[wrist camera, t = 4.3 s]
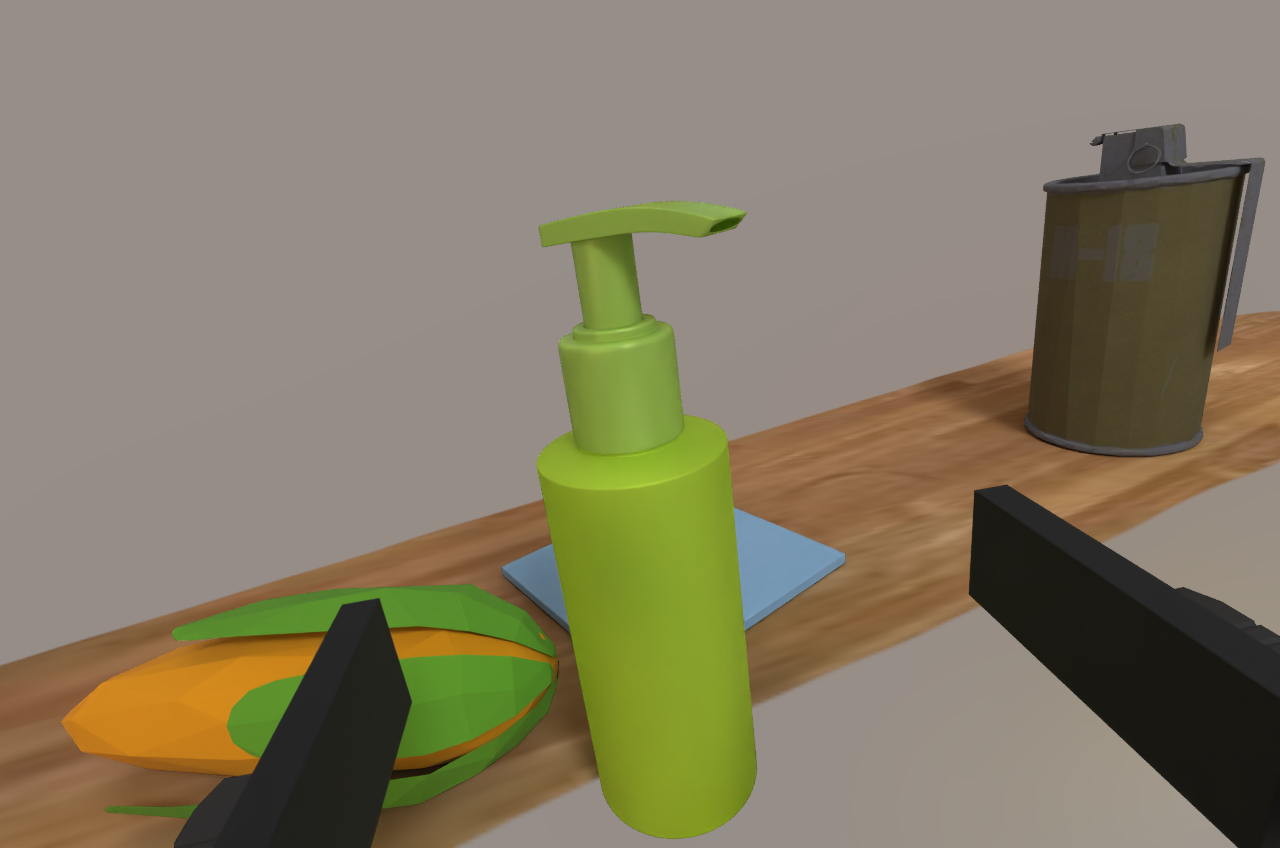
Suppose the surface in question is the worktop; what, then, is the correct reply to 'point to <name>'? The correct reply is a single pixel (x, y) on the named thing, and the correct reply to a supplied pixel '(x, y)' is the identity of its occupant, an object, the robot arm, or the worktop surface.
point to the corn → (277, 661)
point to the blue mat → (766, 567)
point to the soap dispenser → (648, 543)
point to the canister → (1137, 294)
